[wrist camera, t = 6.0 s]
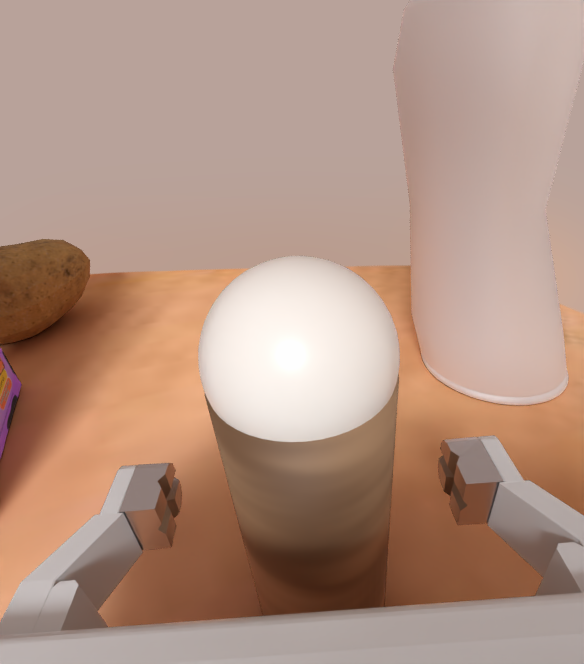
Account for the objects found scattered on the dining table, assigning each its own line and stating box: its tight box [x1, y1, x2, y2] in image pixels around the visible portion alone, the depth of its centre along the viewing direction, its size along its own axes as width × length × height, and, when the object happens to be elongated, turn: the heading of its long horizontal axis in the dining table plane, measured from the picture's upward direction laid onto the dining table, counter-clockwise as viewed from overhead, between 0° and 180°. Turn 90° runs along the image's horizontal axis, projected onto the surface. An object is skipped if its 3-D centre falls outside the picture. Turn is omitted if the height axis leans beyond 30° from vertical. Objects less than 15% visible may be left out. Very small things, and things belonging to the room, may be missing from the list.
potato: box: [0, 239, 90, 344], centre depth 35 cm, size 10×14×8 cm
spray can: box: [393, 0, 584, 405], centre depth 22 cm, size 12×11×25 cm
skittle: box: [198, 256, 400, 616], centre depth 13 cm, size 5×5×14 cm
